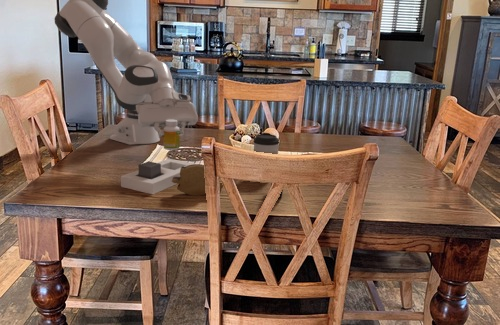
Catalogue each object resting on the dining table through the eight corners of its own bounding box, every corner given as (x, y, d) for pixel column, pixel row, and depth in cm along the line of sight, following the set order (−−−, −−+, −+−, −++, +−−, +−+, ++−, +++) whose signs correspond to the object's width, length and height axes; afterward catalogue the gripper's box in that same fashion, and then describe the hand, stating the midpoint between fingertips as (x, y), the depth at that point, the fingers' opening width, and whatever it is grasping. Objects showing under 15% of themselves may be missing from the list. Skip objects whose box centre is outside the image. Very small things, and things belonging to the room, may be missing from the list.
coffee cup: (278, 180, 165) (280, 138, 160) (252, 180, 165) (253, 137, 160) (276, 172, 173) (278, 132, 169) (251, 172, 173) (253, 131, 169)
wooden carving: (224, 191, 153) (224, 161, 150) (225, 196, 148) (226, 165, 145) (171, 192, 150) (171, 161, 147) (171, 197, 146) (171, 166, 143)
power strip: (121, 186, 154) (120, 165, 152) (169, 167, 175) (169, 149, 173) (152, 194, 148) (152, 172, 146) (198, 174, 169) (199, 154, 167)
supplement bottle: (178, 150, 161) (178, 122, 158) (162, 150, 161) (162, 121, 158) (180, 146, 166) (180, 119, 163) (164, 146, 166) (164, 118, 163)
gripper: (135, 97, 161) (142, 131, 155) (194, 95, 169) (202, 128, 163) (133, 108, 166) (139, 142, 160) (190, 106, 174) (198, 138, 168)
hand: (171, 135), depth 162 cm, fingers closed on supplement bottle, 5 cm apart
